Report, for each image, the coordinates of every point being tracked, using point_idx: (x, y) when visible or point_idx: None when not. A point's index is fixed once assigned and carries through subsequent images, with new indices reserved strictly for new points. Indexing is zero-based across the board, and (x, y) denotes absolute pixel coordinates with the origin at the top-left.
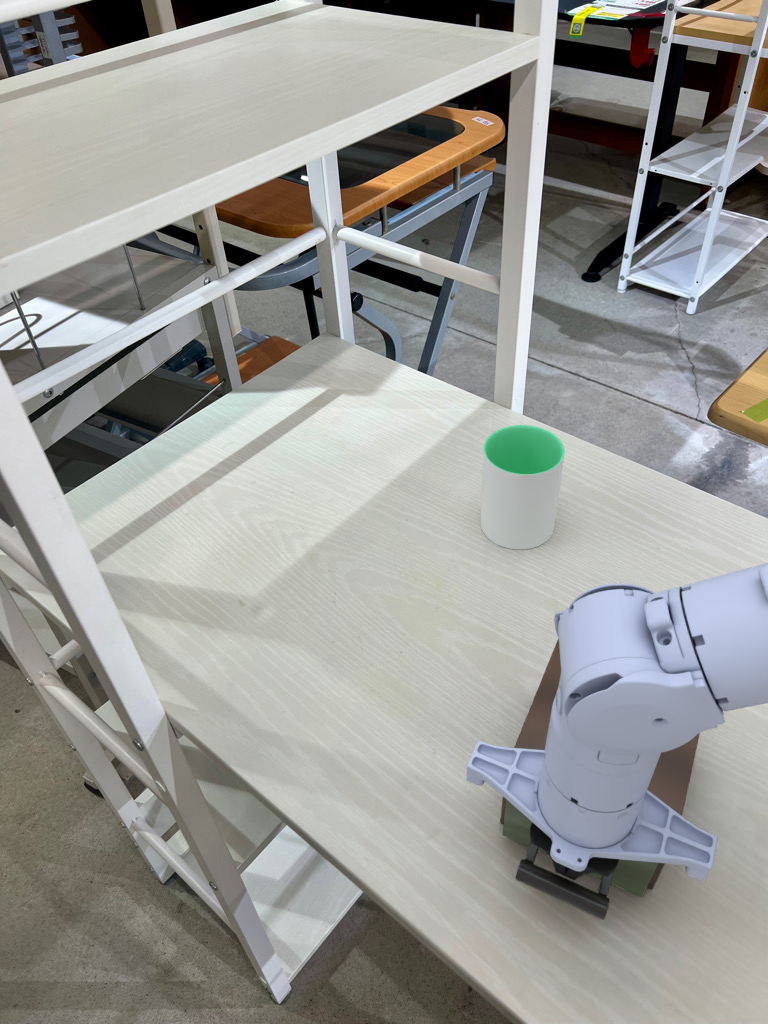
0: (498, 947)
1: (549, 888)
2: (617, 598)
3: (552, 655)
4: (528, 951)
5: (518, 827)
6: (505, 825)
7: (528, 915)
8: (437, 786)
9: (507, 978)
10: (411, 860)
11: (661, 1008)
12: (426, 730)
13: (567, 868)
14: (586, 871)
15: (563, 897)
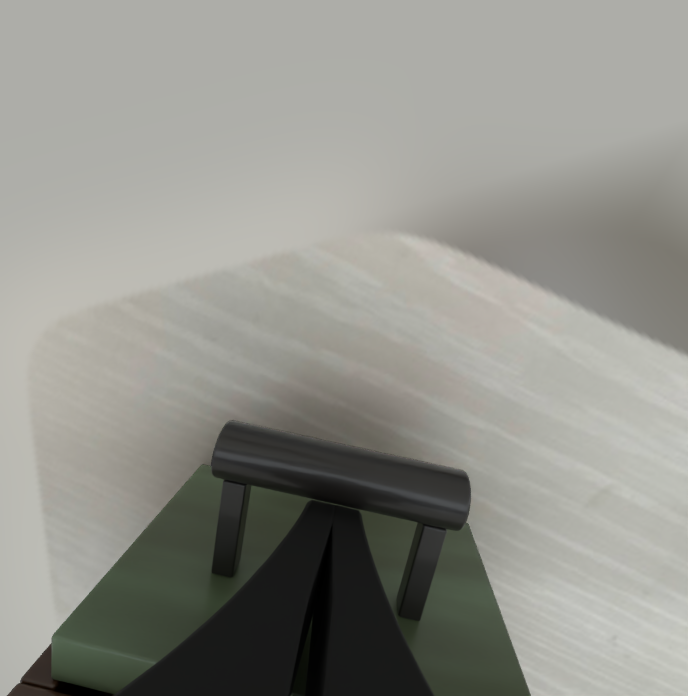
0: (450, 324)
1: (373, 472)
2: None
3: None
4: (392, 331)
5: (452, 568)
6: (477, 559)
7: (399, 391)
8: (600, 580)
9: (427, 276)
10: (644, 440)
11: (160, 298)
12: (633, 675)
13: (328, 541)
14: (238, 610)
15: (332, 456)
